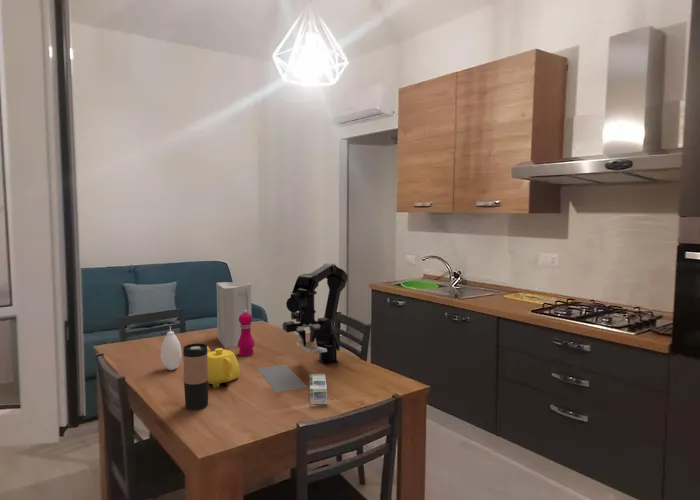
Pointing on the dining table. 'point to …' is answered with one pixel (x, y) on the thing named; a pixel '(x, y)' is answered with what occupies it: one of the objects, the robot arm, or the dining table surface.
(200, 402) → the travel mug
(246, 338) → the pepper mill
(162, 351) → the air blower bulb
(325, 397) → the syrup box
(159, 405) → the dining table surface
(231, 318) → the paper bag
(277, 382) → the charcoal board
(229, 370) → the teapot
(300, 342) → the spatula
